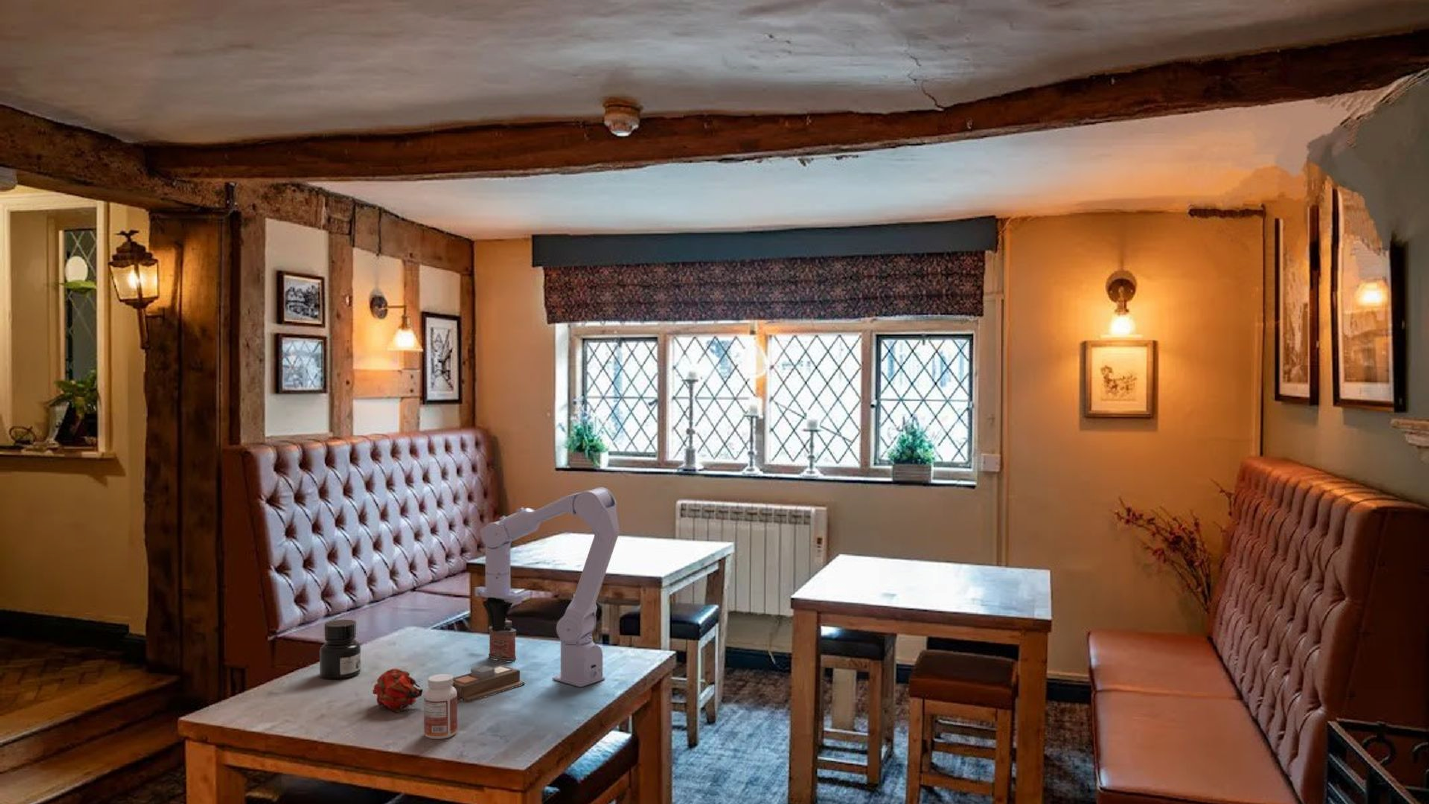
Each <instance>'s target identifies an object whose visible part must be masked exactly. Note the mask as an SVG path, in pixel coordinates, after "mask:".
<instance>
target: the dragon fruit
mask: <svg viewBox="0 0 1429 804" xmlns="http://www.w3.org/2000/svg"><path fill="white" fill-rule="evenodd" d="M416 682H417V680H415V679H414V678H413V677H411V676H410V672H408V671H404V670H401V669H398V668H392V669H389V670H386V671H385V672H383V673H382V674H381V675H380V676H379V677H378V678H377V680H376V683H375V684H374V686H373V690H372V694H373V695H376V702H377V705H378V707H379V708H382V707H385V706H386V707H388V709H390V710H392V711H393V712H404V709H402V707H403V706H404V707H405V706H409V705H410V706H412V707H413V705H414V704H415V703H416V699H417V698H419V697H421V696H422V694H423V690H424V689H423V688H421V687H420V685H419V684H417V683H416ZM414 685H415V686H416V687H415V686H414ZM417 687H418V688H417ZM419 688H420V689H419Z"/></svg>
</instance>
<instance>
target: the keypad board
mask: <svg viewBox="0 0 1429 804" xmlns="http://www.w3.org/2000/svg"><path fill="white" fill-rule="evenodd" d="M489 667H490V666H489ZM497 667H503V668H507V669H510V672H506V673H503V674H500V675H496V676H493V677H489V678H486V679H483V680H479V681H476V682H473V683H469V684H466V685H465V684H461V683H458V682H455V681H454V680H455V679H458V678H462V677H465V676H470V677H471V672H470V673H466V674H463V675H459V676H456V677H453V685H452V686H453V687H454V688H455V689H456V691H457V700H461V699H462V701H464V700H465V701H464V702H467V703H471V702H474V701H477V700H476V699H478V700H480V698H481V699H484V698H486V697H485V696H487V697H489V696H493V695H492V694H494V693H497V694H499V692H500V693H502V692H501V691H503V690H506V691H509V690H508V689H510V688H512V687H516V686H519V685H521V684H525V682H524V681H523V680H520V679H521V676H520V675H521V670H520V669H517V668H513V667H509V666H507V665H502V664H498V665H495V666H491V667H490V668H497ZM519 687H520V686H519ZM516 688H517V687H516ZM510 690H511V689H510ZM503 692H504V691H503ZM494 695H495V694H494ZM473 700H474V701H473Z"/></svg>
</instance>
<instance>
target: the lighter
mask: <svg viewBox="0 0 1429 804" xmlns="http://www.w3.org/2000/svg"><path fill="white" fill-rule="evenodd" d="M512 623H513V622H512V620H509V619H508V618H507V617H506V620H505V624H504V628H503V630H501V631H497V632H496V631H493V629H492V626H489V627H488V631H489V653H488V659H490V658H493V659H497V660H500V661H499V662H503V661H514V662H516V661H517V656H516V634H517V629H516V628H512V626H513V625H512ZM493 659H492V660H493ZM497 660H496V661H497ZM515 660H516V661H515Z"/></svg>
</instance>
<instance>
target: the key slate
mask: <svg viewBox="0 0 1429 804" xmlns="http://www.w3.org/2000/svg"><path fill="white" fill-rule="evenodd" d="M470 673H471V677H474V678H477V679H478V681H479V680H483V679H486V678H489V677H493V676H495V669H494V668H490V666H487V665H483V666H482V665H481V666H479V667H476V668H471V670H470Z"/></svg>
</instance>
